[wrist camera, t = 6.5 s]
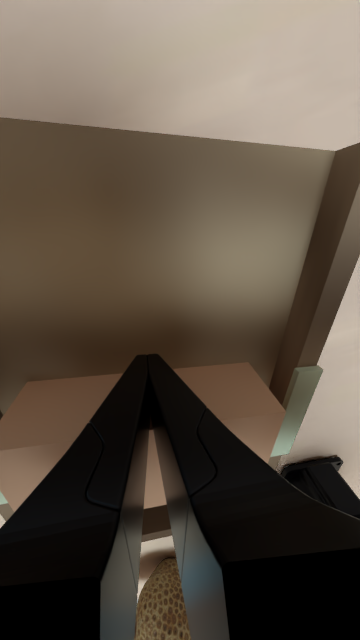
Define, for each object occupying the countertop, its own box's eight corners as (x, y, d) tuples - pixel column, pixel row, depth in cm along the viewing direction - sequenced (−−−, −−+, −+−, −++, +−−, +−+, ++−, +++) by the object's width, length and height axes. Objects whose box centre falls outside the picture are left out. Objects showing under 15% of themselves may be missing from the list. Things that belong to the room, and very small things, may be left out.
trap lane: (237, 462, 19) (260, 520, 15) (57, 494, 16) (33, 573, 13) (309, 169, 9) (419, 136, 6) (-98, 136, 7) (-377, 39, 3)
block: (234, 429, 12) (259, 485, 10) (54, 455, 11) (27, 532, 8) (248, 362, 10) (286, 411, 8) (27, 381, 9) (-24, 454, 6)
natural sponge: (179, 575, 29) (196, 731, 20) (118, 579, 26) (106, 767, 17) (213, 543, 26) (251, 709, 17) (149, 544, 23) (154, 747, 14)
